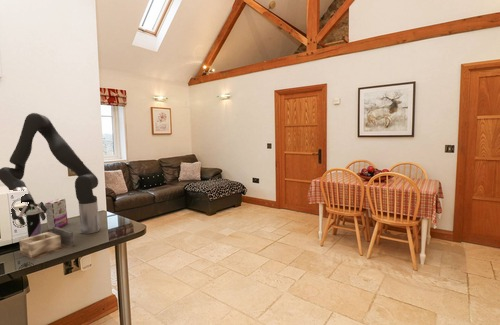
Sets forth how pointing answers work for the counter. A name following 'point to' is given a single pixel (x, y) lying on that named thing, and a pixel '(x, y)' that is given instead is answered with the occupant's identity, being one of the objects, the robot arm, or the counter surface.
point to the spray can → (33, 222)
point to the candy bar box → (56, 213)
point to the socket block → (40, 244)
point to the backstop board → (65, 241)
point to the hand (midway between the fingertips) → (34, 221)
